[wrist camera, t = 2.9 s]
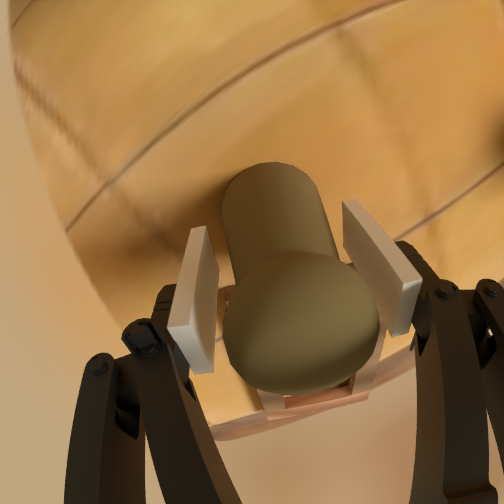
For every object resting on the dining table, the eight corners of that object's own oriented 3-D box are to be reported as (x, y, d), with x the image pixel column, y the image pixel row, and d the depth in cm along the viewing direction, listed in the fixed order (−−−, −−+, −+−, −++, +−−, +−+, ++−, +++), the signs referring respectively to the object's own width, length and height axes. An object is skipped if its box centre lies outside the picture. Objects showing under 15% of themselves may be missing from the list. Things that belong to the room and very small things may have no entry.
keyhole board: (225, 286, 20) (225, 301, 19) (389, 255, 19) (398, 267, 18) (267, 409, 31) (268, 420, 29) (364, 389, 30) (367, 399, 29)
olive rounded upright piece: (220, 252, 18) (212, 416, 9) (221, 159, 15) (198, 296, 6) (313, 254, 19) (367, 405, 10) (328, 166, 16) (438, 291, 6)
